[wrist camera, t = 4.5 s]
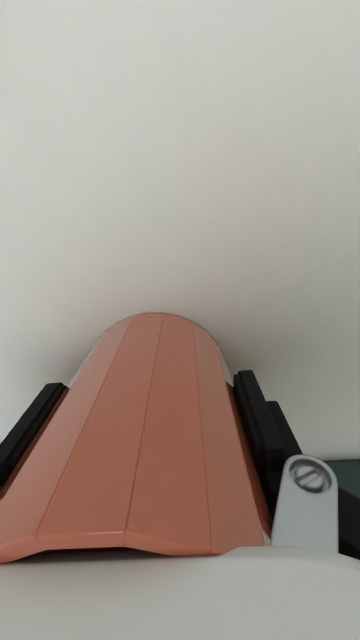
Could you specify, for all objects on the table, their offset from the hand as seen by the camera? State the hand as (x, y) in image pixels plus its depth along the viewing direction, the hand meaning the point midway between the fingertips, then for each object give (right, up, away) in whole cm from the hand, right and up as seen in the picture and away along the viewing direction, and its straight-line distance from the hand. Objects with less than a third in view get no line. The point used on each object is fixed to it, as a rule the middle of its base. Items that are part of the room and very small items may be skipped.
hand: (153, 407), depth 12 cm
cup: (0, +1, +2) cm, 2 cm away
